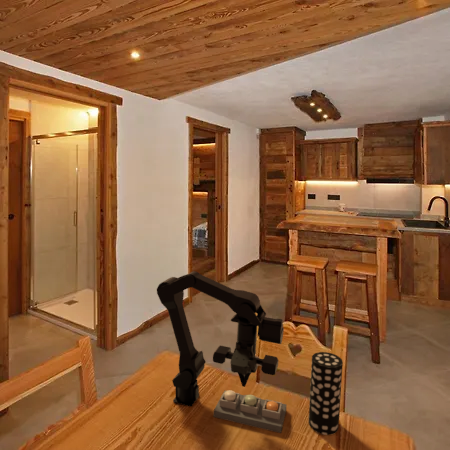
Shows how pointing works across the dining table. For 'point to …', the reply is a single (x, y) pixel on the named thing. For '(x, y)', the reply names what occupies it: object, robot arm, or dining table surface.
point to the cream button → (230, 396)
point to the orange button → (272, 406)
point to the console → (251, 413)
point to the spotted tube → (325, 392)
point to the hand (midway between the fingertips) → (244, 385)
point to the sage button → (250, 400)
